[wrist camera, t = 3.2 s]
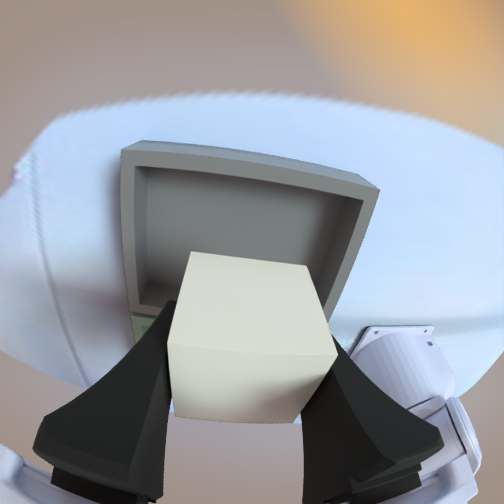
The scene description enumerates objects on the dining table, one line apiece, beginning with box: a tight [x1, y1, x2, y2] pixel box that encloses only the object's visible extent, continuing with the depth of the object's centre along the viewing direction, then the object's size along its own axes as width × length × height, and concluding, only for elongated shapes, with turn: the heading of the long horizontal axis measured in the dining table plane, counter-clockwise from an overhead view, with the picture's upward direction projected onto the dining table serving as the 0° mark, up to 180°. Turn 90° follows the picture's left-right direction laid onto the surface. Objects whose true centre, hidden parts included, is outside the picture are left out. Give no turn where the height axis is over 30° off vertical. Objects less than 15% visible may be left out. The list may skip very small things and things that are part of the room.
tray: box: [120, 140, 380, 324], centre depth 17 cm, size 14×11×3 cm
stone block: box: [167, 251, 338, 424], centre depth 10 cm, size 5×5×5 cm
